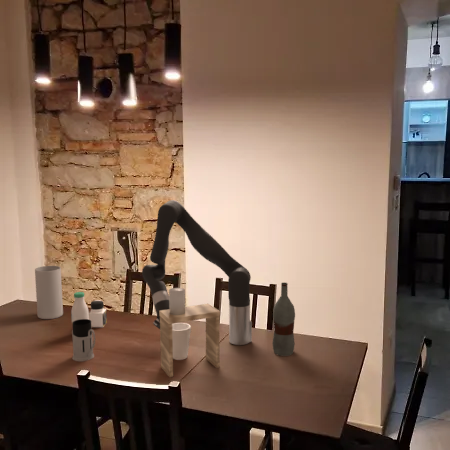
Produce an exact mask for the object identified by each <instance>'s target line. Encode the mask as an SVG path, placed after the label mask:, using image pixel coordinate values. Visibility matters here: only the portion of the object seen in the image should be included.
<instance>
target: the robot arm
mask: <svg viewBox="0 0 450 450" xmlns="http://www.w3.org/2000/svg"><path fill="white" fill-rule="evenodd" d="M174 224H177V225H178V226H179V227H180V228H181V229H182V230H183V231H184V233H185V234H186V236H187V239H188V240H189V243H190V244H191V246H192V248H193V249H194V250H195V251H196V252H197V253H199V255H201V257H202V258H204V259H205V260H206V261H208V262H210V263H211V264H213V265H215V266H216V267H218V269H221V270H222V271H223V273H224V274H225V275H226V276H227V277H228V284H227V286H228V290H227V292H228V296H227V297H228V302H229V303H228V313H229V314H228V326H229V327H228V333H229V334H228V341H229V343H230V344H231V345H232V344H233V345H234V346H243V345H244V346H245V345H248V344H249V343H252V342H253V341H252V340H253V339H252V336H253V333H252V332H253V331H252V330H253V327H252V326H253V322H252V320H251V297H250V287H251V286H250V284H251V283H250V282H251V279H252V277H251V273H250V271H249V270H248V269H247V268H246V267H245V266H243V265H242V264H241V263H240V262H238V261H237V260H236V259H235V258H234V257H232V255H230V254H229V252H228V251H227V250H225V248H224V247H223V246H222V245H221V244H220V243H219V242H218V241H217V240H216V239H215V238H214V237H213V235H212V234H210V233H209V232H207V230H205V228H204V227H202V225H200V223H198V221H196V220H195V218H193V216H192V214H190V212H188V210H187V209H186V208H185V207H184V206H183V205H182V204H181V203H180V202H179V201H177V200H174V199H171V200H168V201H166V202H165V203H163V204H162V205H161V206H160V207H159V208H158V212H157V221H156V229H155V235H154V242H153V244H152V248H151V253H150V257H149V259H150V261H151V262H152V263H153V264H146V265H144V266H143V267H142V270H141V271H142V272H141V275H142V278H143V280H144V282H145V283H146V284H147V286H148V288H149V290H150V293H151V297H152V302H153V307H154V309H155V314H156V319H155V320H154V321H153V322H152V324H153V326H155V327H156V328H158V330H160V316H159V311H161V310H168V309H169V291H168V289H167V286H166V283H165V282H164V281H162V279H164V278H165V276H166V258H167V255H168V251H169V247H170V245H169V244H170V240H169V238H170V234H171V233H170V232H171V230H172V228H173V226H174Z"/></svg>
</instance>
